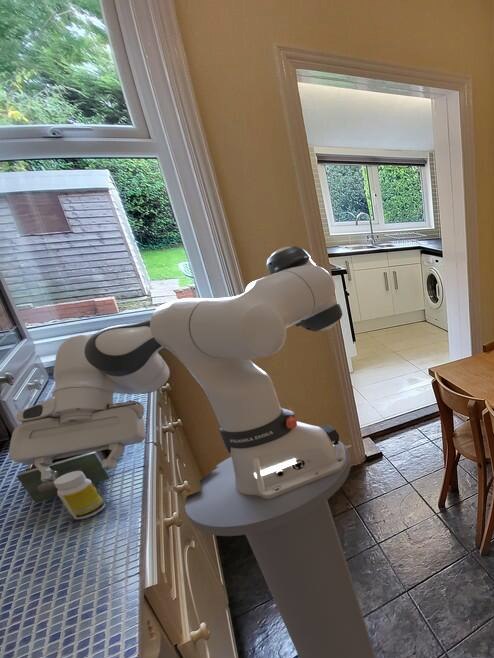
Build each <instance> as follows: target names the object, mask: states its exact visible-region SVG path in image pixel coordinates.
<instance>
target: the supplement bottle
mask: <svg viewBox="0 0 494 658" xmlns="http://www.w3.org/2000/svg"><path fill="white" fill-rule="evenodd" d="M54 484H55V486H56V488H57V489H58V491H57V494H58V496H57V497H58V498H59V499H60V500H61V502H62V504H63V505H64V507H65V508H66V510H67V512H68V513H69V514H70V515H71V517H72V518H73V519H74V520H83V519H88V518H90V517H92V516H95V515H96V514H98V513H100V512H101V511H103V509H104V508H106V507H105V506H106V503H105V501H104V500H103V498H102V496H101V495H100V493H99V492H98V489H97V488H96V486H95V484H93V483H92V482H91V480H89V479H86V476H85V475H84V473H83V472H82V471H74V472H70V473H67V474H64V475H62V476H60V477H59V478H57V479H56V480H55V481H54Z"/></svg>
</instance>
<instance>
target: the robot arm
mask: <svg viewBox="0 0 494 658" xmlns="http://www.w3.org/2000/svg"><path fill="white" fill-rule="evenodd" d="M311 258H312V256H311V255H310V254H309V253H308V251H306V250H305V249H304V248H302V247H300V246H297V245H294V246H284V247H281V248H278V249H277V250H275V251H274V252H273V253H272V254H271V255H270V256H269V257H268V258H267V260H266V268H267V271H268V273H269V275H267V276H264V277H261V278H258V279H256V280H253V281H251V282H250V283H248V284H247V286H246V287H245V290H244V292H243V293H240V294H238V295H233V296H227V297H217V298H210V297H209V298H208V297H207V298H206V297H205V298H204V297H185V298H180V299H176V300H172V301H168V302H166V303H163V304H161V305H159V306H158V307H157V308H156V309H155V310H154V311H153V312H152V315H151V317H150V319H147V320H143V321H138V322H134V323H133V322H132V323H127V324H126V323H125V324H116V325H112V326H108V327H105V328H102V329H100V330H98V331H97V332H95V333H94V334H78V335H73V336H70V337H68V338H66V339H65V340H63V342H62V343H61V344H60V345H59V347H58V348H57V352H56V355H55V359H54V366H53V374H52V375H53V377H52V378H53V379H54V382H55V386H54V388H53V390H52V393H51V397H50V398H47V399H45V400H43V401H41V402H38V403H37V404H35V405H32V406H29V407H27V408H23V409H22V410H20V411H18V412H17V413H16V421H18V422H19V424H18V425H17V426H16V427H15V428H14V429H13V431H12V434H11V438H10V442H9V447H8V448H9V450H8V457H9V458H10V460H11V461H13V462H15V463H18V464H22V465H28V464H34V465H35V466H36V467H37V468H38V470H39V471H40V472H41V480H42V481H43V482H50V481H55V480H56V479H57V478H58V477H57V476H58V472H57V471H53V470H51V469H50V467H49V466H48V465H52V460H54V459H59V458H65V457H70V456H75V455H80V454H85V453H90V452H96V451H101V450H106V449H109V450H112V451H111V453H110V455H109V456H108V458H107V459H104V460H102V464H103V465H102V468H103V469H106V470H107V471H108V470H113V469H116V468H117V467H118V461H119V459H120V457H121V456H122V455H123V453H124V452H125V447H126V446H130V445H136V444H142V443H143V442H144V440H145V439H146V436H147V433H146V432H147V431H146V426H145V425H146V424H145V421H144V415H145V407H144V404H142V402H139V401H136V400H128V401H124V402H114V394H123V395H146V394H151V393H155V392H157V391H159V390H160V389H162V388H163V387H164V386H165V385H166V384H167V382H168V381H169V379H170V378H171V377H170V376H171V371H170V367H169V366H168V363H166V361H165V360H164V359H163V357H162V356H161V355H160V354H159V351H161V350H162V349H164V348H165V349H166V350H168V351H169V352H170V353H172V354H173V356H175V357H176V358H177V360H179V361H180V362H181V363H182V365H183V366H184V367H185V368H186V369H187V371H188V372H189V373H190V374H191V375H192V377H193V378H194V379H195V381H196V382H197V383H198V384H199V385H200V387H201V388H202V389H203V391H204V393H205V395H206V397H207V398H208V401H209V403H210V405H211V407H212V410H213V412H214V414H215V417H216V419H217V421H218V424H219V429H218V430H219V435H220V438H221V440H222V443H223V445H224V448H226V451H227V453H229V454H230V457H231V458H232V462H233V467H234V473H235V488H236V490H237V491H238V492H240V493H242V494H246V495H258V496H261V497H262V498H265V499H272V498H274V497H277V496H279V495H282V494H284V493H286V492H289V491H291V490H294V489H296V488H299V487H301V486H304V485H306V484H308V483H311V482H313V481H316V480H318V479H321V478H323V477H325V476H328V475H330V474H333V473H335V472H338V471H340V470H341V469H342V468H343V466H344V465H345V462H346V452H345V449H344V447H343V445H342V444H341V443H342V442H341V441H340V434H339V433H338V432H337V429H335V428H334V427H332V426H330V425H329V424H327V423H326V424H324V425H321V426H318V425H313V424H309V423H305V422H301V421H298V419H297V417H296V416H295V412H294V410H293V409H292V407H291V406H289V407H288V409H287V408H284V407H281V404H280V401H279V398H278V395H277V391H276V389H275V386H274V382H273V380H272V378H271V377H270V375H269V374H268V373H267V372H266V371H265V370H263V369H262V368H260V367H259V366H258V365H256V364H255V363H254V362H253V361H252V360H254V359H260V358H261V359H262V358H266V357H270V356H273V355H275V354H277V353H278V352H280V350H281V349H282V348H283V346H284V344H285V341H286V338H287V329H289V328H290V327H292V326H294V325H295V327H297V328H298V327H302V328H303V329H305V330H307V331H311V332H315V333H316V332H322V331H327V330H330V329H332V328H333V327H335V326H336V325H337V324H338V322H339V321H340V320H341V319H342V317H343V310H342V308H341V305H340V303H339V302H338V301H337V299H336V297H335V291H336V285H335V281H334V278H333V277H332V275H331V274H330V273H329V271H328V270H326V269H325V268H324V267H321V266H319V265H316V263H315V262H314V261H313V260H312V259H311ZM339 441H340V442H341V443H340V442H339ZM117 460H118V461H117Z"/></svg>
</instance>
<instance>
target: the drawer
mask: <svg viewBox="0 0 494 658" xmlns="http://www.w3.org/2000/svg"><path fill="white" fill-rule="evenodd" d="M108 456H109V453H108V451H107V450H101V451H96V452H90V453H85V454H80V455H75V456H70V457H65V458H59V459H54V460H52V465H48V466H49V467H50V469H51V470H53V471H57V472H58V476H57V477H58V478H59V477H60V476H62V475H64V474H67V473H70V472H74V471H82V472H83V473H84V475H85V476H86V479H89V480H91V482H92V483H93V485H95V484H100V483H102V482H105V481H108V480H110V479H111V475H110V473H109V472H108V470H106V469H103V468H102V465H103V464H102V460H104V459H107V458H108ZM16 478H17V479H18V481H19V482H20V483H21V485H22V486H23V488H24V489H25V491H26V492H27V494H28V495H29V497H30V498H31V500H32V501H33V502H34V504H39V503H40V502H44V501H47V500H50V499H53V498H56V497H59V496H58V494H57V491H58V489H57V488H56V486H55V484H54V481H50V482H43V481H42V480H41V472H40V471H39V470H38V468H37V467H36V466H35V465H34V464H26V467H25V469H24V471H22V472H19V473H17V474H16Z"/></svg>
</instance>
